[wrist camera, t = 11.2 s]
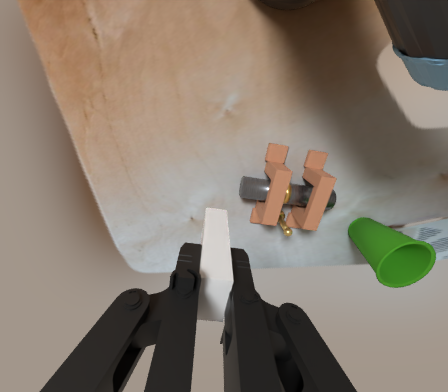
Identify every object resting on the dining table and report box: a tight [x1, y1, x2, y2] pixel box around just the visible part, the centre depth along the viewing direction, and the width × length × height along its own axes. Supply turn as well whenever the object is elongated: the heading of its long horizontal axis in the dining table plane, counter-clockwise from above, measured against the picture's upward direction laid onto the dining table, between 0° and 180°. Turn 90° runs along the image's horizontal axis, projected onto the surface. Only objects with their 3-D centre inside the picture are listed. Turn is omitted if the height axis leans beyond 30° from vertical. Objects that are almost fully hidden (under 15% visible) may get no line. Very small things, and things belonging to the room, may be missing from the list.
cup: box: [348, 217, 436, 288], centre depth 37 cm, size 9×9×11 cm
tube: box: [239, 176, 336, 210], centre depth 37 cm, size 16×4×4 cm, turn 80°
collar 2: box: [286, 150, 336, 231], centre depth 36 cm, size 15×3×6 cm, turn 170°
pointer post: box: [277, 210, 292, 236], centre depth 37 cm, size 2×2×6 cm
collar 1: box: [250, 143, 292, 226], centre depth 35 cm, size 15×3×6 cm, turn 170°
